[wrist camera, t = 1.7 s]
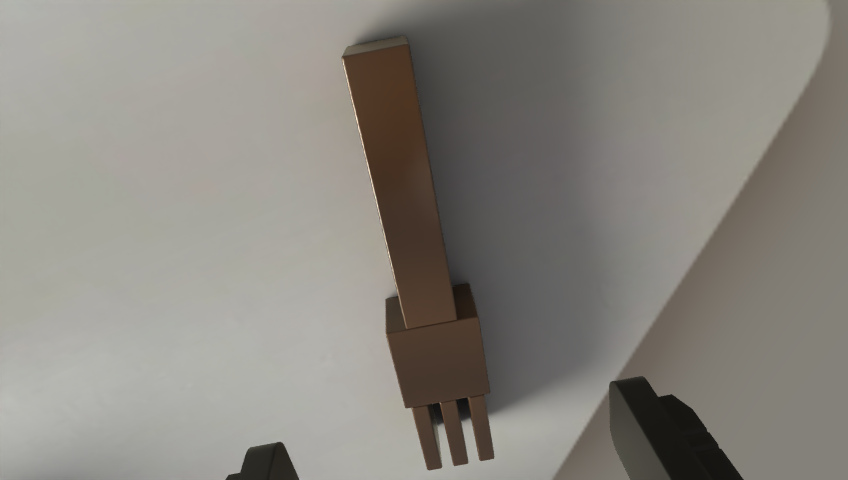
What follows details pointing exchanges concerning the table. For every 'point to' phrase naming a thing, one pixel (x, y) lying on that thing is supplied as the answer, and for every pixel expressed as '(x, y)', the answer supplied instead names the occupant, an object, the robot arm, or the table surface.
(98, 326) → the table surface
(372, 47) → the fork
